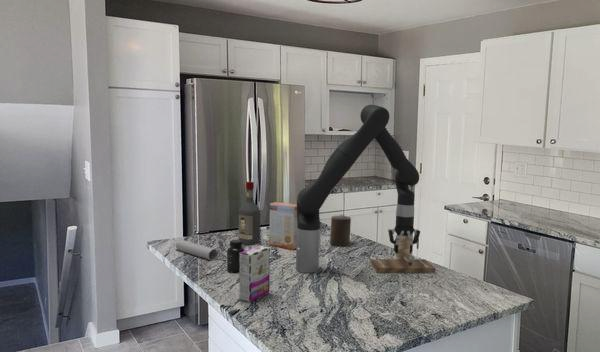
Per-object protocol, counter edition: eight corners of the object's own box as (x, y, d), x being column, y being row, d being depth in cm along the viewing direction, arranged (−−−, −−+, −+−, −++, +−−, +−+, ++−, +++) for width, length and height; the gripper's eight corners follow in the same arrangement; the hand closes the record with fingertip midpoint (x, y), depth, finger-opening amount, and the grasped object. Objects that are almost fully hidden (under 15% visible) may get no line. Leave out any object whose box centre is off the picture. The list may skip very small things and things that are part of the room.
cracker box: (299, 247, 222) (300, 204, 220) (292, 250, 217) (294, 206, 214) (275, 242, 229) (276, 201, 227) (268, 245, 224) (269, 202, 222)
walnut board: (377, 272, 187) (377, 267, 187) (370, 263, 199) (370, 259, 199) (435, 272, 189) (435, 267, 189) (425, 264, 201) (425, 259, 201)
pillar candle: (340, 247, 223) (341, 217, 222) (325, 243, 231) (327, 213, 229) (353, 245, 230) (355, 215, 228) (339, 240, 237) (341, 212, 235)
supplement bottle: (223, 270, 186) (223, 240, 184) (236, 266, 191) (237, 237, 189) (234, 274, 181) (234, 244, 180) (247, 270, 186) (248, 241, 185)
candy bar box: (258, 290, 165) (259, 244, 163) (269, 293, 162) (270, 247, 160) (238, 299, 155) (238, 251, 153) (249, 303, 153) (250, 254, 151)
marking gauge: (404, 270, 191) (406, 241, 190) (395, 260, 203) (397, 234, 202) (416, 270, 191) (418, 241, 190) (406, 261, 204) (408, 234, 202)
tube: (171, 242, 211) (207, 252, 195) (181, 236, 215) (216, 246, 199) (175, 252, 213) (210, 263, 197) (184, 246, 217) (219, 257, 201)
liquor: (248, 239, 235) (249, 180, 232) (262, 242, 230) (263, 182, 226) (235, 242, 228) (236, 182, 224) (249, 246, 222) (250, 184, 219)
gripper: (391, 216, 195) (389, 255, 197) (424, 216, 197) (421, 255, 199) (386, 212, 203) (384, 250, 205) (418, 213, 204) (416, 250, 206)
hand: (402, 252), depth 202 cm, fingers closed on marking gauge, 5 cm apart
